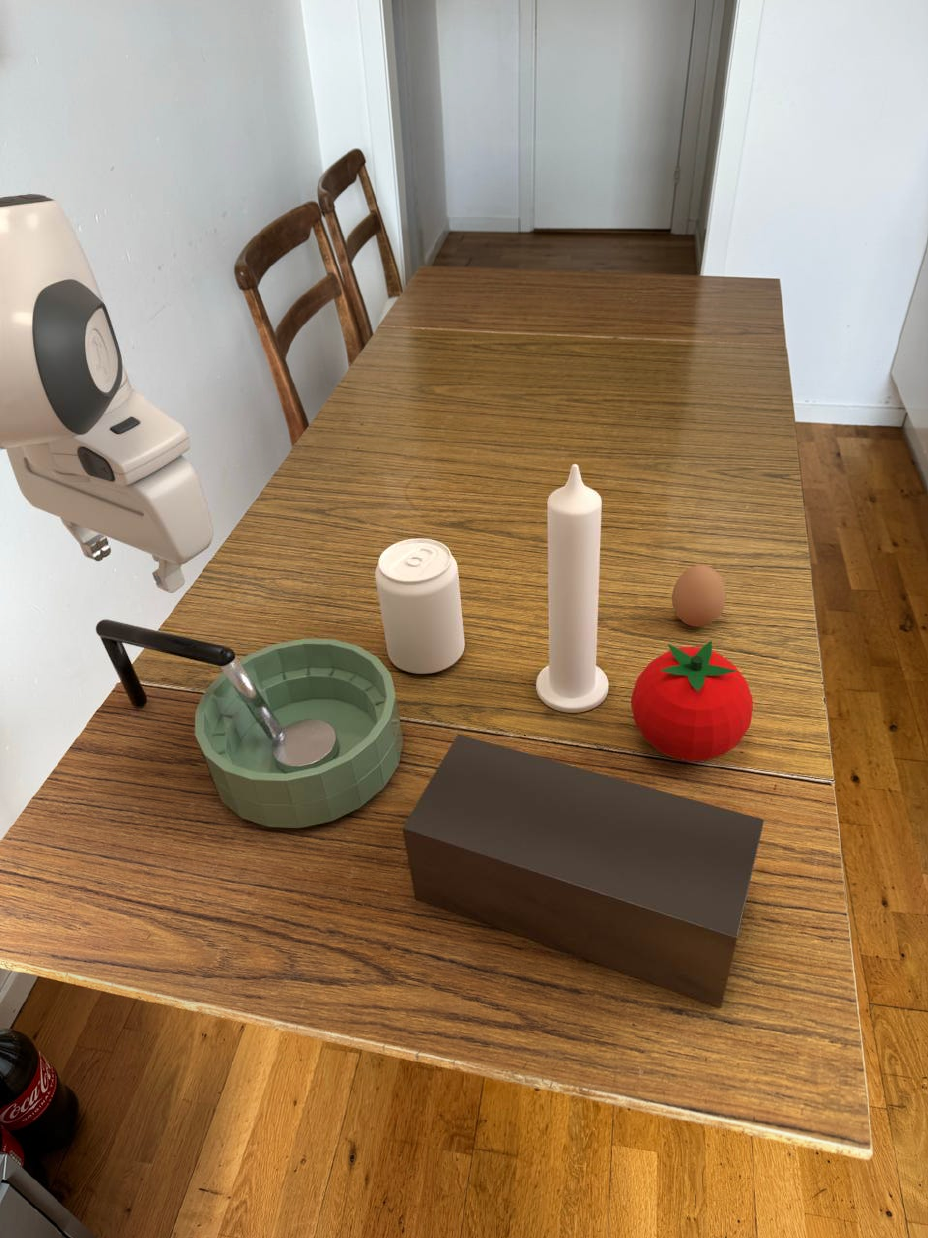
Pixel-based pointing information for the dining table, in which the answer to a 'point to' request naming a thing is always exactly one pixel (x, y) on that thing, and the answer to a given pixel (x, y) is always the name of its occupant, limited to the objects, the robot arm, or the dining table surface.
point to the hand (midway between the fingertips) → (134, 571)
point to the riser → (585, 864)
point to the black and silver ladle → (291, 745)
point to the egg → (699, 596)
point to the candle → (573, 599)
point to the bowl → (296, 690)
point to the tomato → (692, 703)
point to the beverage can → (420, 605)
